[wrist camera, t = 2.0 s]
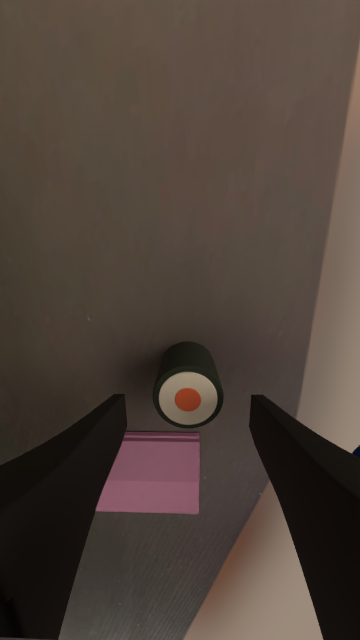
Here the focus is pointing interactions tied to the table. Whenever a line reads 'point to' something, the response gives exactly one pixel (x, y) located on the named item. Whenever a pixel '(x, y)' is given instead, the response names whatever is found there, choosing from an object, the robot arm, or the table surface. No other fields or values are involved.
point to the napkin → (154, 474)
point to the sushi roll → (188, 386)
